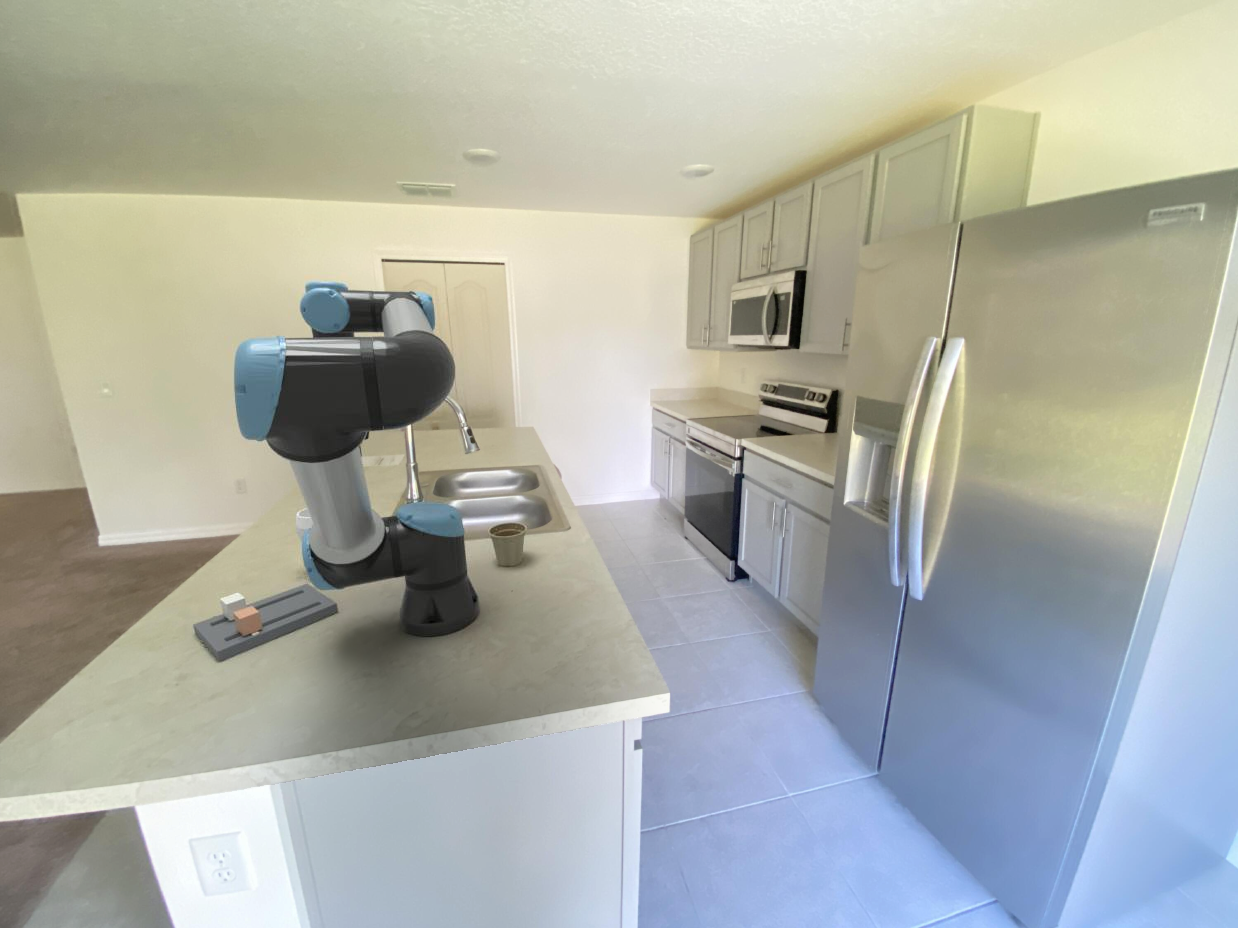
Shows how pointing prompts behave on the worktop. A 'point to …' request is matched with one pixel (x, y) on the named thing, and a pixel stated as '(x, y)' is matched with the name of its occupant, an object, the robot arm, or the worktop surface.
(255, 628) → the fader front
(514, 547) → the flower pot
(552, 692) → the worktop surface
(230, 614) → the block
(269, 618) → the console
